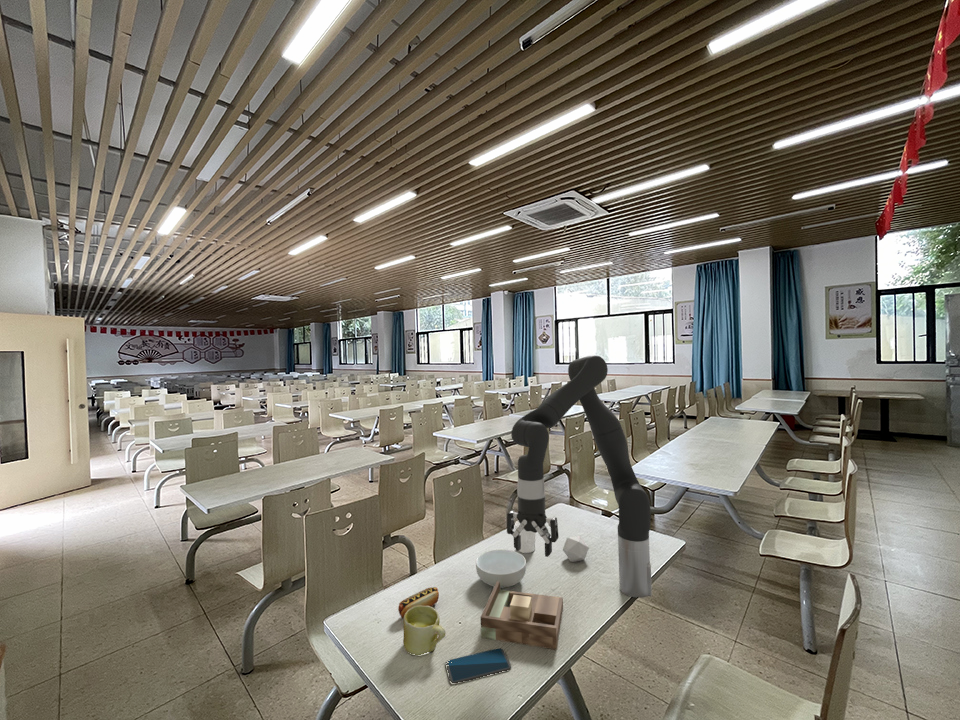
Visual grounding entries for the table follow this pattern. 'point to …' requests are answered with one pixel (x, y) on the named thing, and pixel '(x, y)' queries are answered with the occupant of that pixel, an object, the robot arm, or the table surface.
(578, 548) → the die
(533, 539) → the white cup
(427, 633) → the mug
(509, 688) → the table surface
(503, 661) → the smartphone
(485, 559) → the cereal bowl
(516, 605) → the maple block
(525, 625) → the box
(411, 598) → the hot dog
